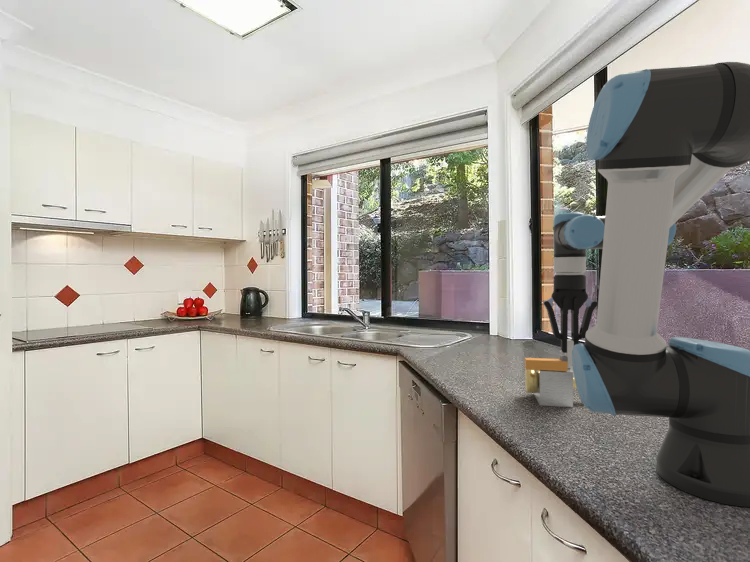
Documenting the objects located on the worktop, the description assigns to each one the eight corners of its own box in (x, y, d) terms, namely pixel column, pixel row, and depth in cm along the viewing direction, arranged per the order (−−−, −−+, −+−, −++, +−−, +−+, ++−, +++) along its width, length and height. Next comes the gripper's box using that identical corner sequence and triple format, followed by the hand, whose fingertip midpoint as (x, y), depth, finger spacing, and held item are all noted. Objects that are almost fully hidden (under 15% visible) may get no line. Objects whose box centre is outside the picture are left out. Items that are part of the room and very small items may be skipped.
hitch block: (573, 407, 105) (573, 371, 105) (539, 405, 107) (539, 369, 106) (564, 395, 115) (564, 362, 114) (533, 393, 116) (533, 361, 116)
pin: (593, 399, 105) (593, 374, 105) (527, 395, 109) (528, 371, 109) (586, 392, 112) (586, 368, 111) (524, 388, 115) (524, 366, 115)
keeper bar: (567, 371, 105) (567, 357, 105) (526, 369, 107) (526, 356, 107) (565, 368, 108) (565, 355, 108) (524, 367, 110) (524, 354, 110)
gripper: (593, 273, 108) (592, 362, 108) (540, 274, 111) (540, 361, 111) (601, 274, 100) (601, 369, 101) (545, 274, 103) (545, 367, 104)
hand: (569, 365), depth 106 cm, fingers closed
